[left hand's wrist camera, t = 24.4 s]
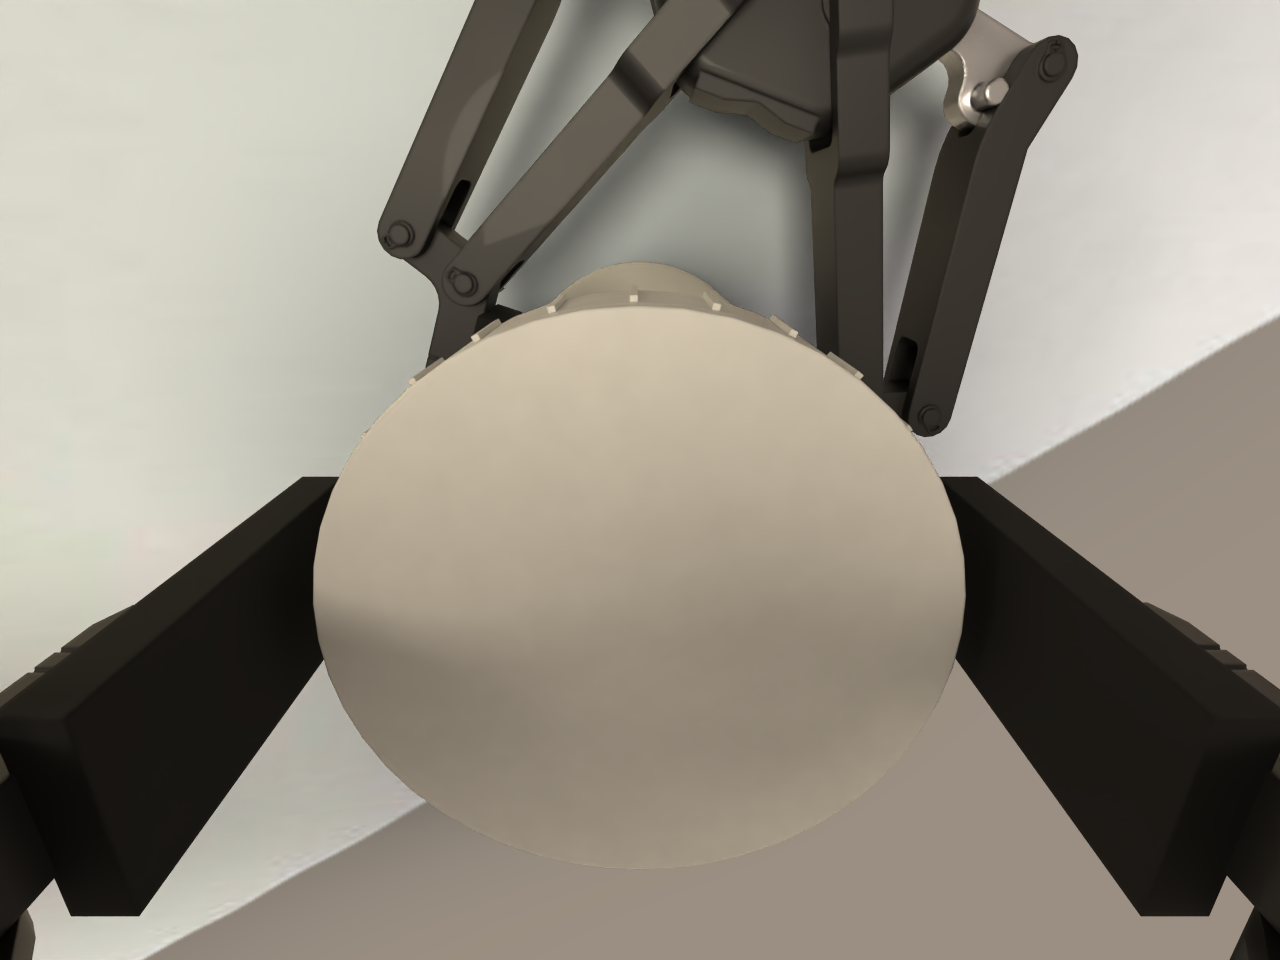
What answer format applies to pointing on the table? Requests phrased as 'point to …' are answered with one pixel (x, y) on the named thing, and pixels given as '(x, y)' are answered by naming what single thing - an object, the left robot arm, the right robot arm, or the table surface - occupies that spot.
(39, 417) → the table surface
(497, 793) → the lid
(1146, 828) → the left robot arm
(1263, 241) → the table surface
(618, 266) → the jar
